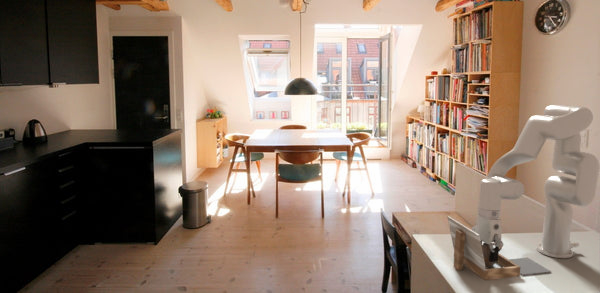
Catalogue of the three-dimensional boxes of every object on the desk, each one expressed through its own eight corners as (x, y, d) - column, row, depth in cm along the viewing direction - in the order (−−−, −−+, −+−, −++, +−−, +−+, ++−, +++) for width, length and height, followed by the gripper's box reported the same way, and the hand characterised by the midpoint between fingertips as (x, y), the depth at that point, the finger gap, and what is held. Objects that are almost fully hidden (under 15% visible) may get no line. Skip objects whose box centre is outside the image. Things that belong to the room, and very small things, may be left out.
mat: (527, 258, 165) (527, 257, 165) (551, 272, 154) (551, 271, 154) (500, 261, 163) (500, 260, 163) (522, 275, 151) (522, 274, 151)
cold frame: (485, 253, 171) (488, 212, 168) (519, 276, 151) (523, 230, 148) (441, 257, 167) (444, 216, 164) (471, 281, 148) (474, 235, 145)
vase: (497, 270, 156) (498, 248, 154) (477, 269, 157) (478, 246, 155) (492, 262, 162) (494, 241, 161) (473, 261, 164) (475, 239, 162)
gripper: (513, 219, 148) (509, 265, 151) (483, 204, 165) (480, 246, 168) (494, 220, 147) (490, 266, 150) (466, 205, 164) (463, 247, 166)
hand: (485, 255), depth 159 cm, fingers open, 9 cm apart
